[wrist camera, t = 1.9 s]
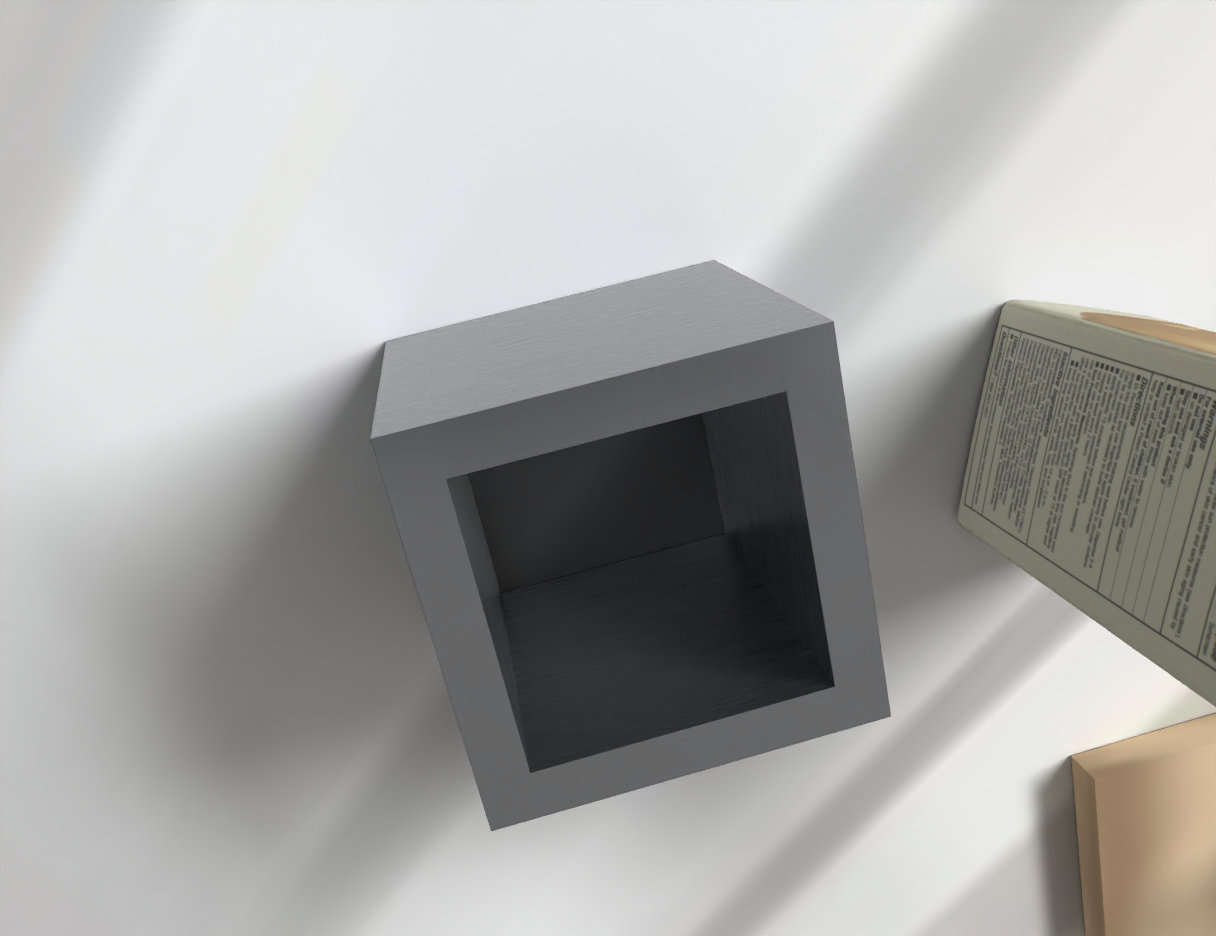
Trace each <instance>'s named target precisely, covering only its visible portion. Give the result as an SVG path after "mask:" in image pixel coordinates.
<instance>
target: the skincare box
mask: <svg viewBox="0 0 1216 936" xmlns="http://www.w3.org/2000/svg"><path fill="white" fill-rule="evenodd" d="M957 521H958V523H959V524H960V525H961V526H962V527H964V528H965V529H966V530H968V531H969V532H971V533H972V534H974V535H975V536H976V537H978V538H979V539H980V540H982V541H983V542H985V543H986V544H988V545H989V546H990V547H992V548H993V549H994V550H996V551H997V552H999V553H1000V554H1002V555H1003V556H1004V557H1006V558H1007V559H1009V560H1010V561H1011V562H1013V563H1014V564H1016V565H1017V566H1019V567H1020V568H1021V569H1023V570H1024V571H1025V572H1027V573H1028V574H1030V575H1031V576H1032V577H1034V578H1035V579H1037V580H1038V581H1040V582H1041V583H1042V584H1044V585H1045V586H1047V587H1048V588H1050V589H1051V590H1052V591H1054V592H1055V593H1056V594H1058V595H1059V596H1060V597H1062V598H1063V599H1065V600H1066V601H1068V602H1069V603H1070V604H1072V605H1073V606H1074V607H1076V608H1077V609H1079V610H1080V611H1082V612H1083V613H1085V614H1086V615H1087V616H1089V617H1090V618H1091V619H1093V620H1094V621H1096V622H1097V623H1099V624H1100V625H1101V626H1103V627H1104V628H1106V629H1107V630H1108V631H1110V632H1111V633H1112V634H1114V635H1115V636H1117V637H1118V638H1120V639H1121V640H1122V641H1124V642H1125V643H1126V644H1128V645H1129V646H1131V647H1132V648H1133V649H1135V650H1136V651H1138V652H1139V653H1141V654H1142V655H1144V656H1145V657H1146V658H1148V659H1149V660H1151V661H1152V662H1153V663H1155V664H1156V665H1158V666H1159V667H1160V668H1162V669H1163V670H1165V671H1166V672H1168V673H1169V674H1170V675H1171V676H1173V677H1174V678H1176V679H1177V680H1179V681H1180V682H1181V683H1183V684H1184V685H1186V686H1187V687H1188V688H1190V689H1191V690H1193V691H1194V692H1195V693H1197V694H1198V695H1200V696H1201V697H1203V698H1204V699H1205V700H1207V701H1208V702H1209V703H1211V704H1212V705H1214V706H1215V707H1216V333H1215V332H1211V331H1206V330H1202V329H1198V328H1194V327H1190V326H1186V325H1182V324H1178V323H1174V322H1170V321H1165V320H1161V319H1157V318H1153V317H1149V316H1144V315H1137V314H1130V313H1124V312H1117V311H1110V310H1102V309H1095V308H1087V307H1080V306H1073V305H1065V304H1055V303H1045V302H1036V301H1027V300H1010V301H1008V302H1007V303H1006V304H1005V305H1004V306H1003V308H1002V311H1001V315H1000V319H999V324H998V327H997V331H996V335H995V339H994V343H993V348H992V352H991V356H990V360H989V364H988V368H987V373H986V377H985V382H984V387H983V391H982V396H981V400H980V405H979V409H978V414H977V419H976V423H975V428H974V433H973V437H972V443H971V448H970V453H969V458H968V463H967V468H966V473H965V478H964V484H963V490H962V494H961V500H960V505H959V510H958V516H957Z"/></svg>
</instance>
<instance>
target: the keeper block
mask: <svg viewBox="0 0 1216 936" xmlns="http://www.w3.org/2000/svg"><path fill="white" fill-rule="evenodd" d="M1071 760H1072V773H1073V786H1074V799H1075V811H1076V824H1077V837H1078V850H1079V862H1080V875H1081V888H1082V900H1083V913H1084V926H1085V936H1216V713H1215V714H1211V715H1208V716H1204V717H1201V718H1198V719H1194V720H1191V721H1187V722H1184V723H1181V724H1177V725H1174V726H1171V727H1167V728H1164V729H1160V730H1157V731H1154V732H1150V733H1147V734H1143V735H1140V736H1137V737H1133V738H1130V739H1126V740H1123V741H1120V742H1116V743H1113V744H1109V745H1106V746H1103V747H1099V748H1096V749H1092V750H1089V751H1086V752H1082V753H1079V754H1075V755H1072V756H1071Z"/></svg>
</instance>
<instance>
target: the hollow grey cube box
mask: <svg viewBox="0 0 1216 936" xmlns="http://www.w3.org/2000/svg"><path fill="white" fill-rule="evenodd" d="M700 413H702V416H703V421H704V427H705V432H706V437H707V442H708V447H709V452H710V458H711V463H712V468H713V473H714V478H715V483H716V489H717V494H718V499H719V504H720V509H721V514H722V519H723V525H724V530H725V533H724V534H720V535H716V536H713V537H709V538H705V539H701V540H698V541H694V542H690V543H687V544H683V545H679V546H675V547H672V548H668V549H664V550H660V551H657V552H653V553H649V554H646V555H642V556H638V557H634V558H631V559H627V560H623V561H620V562H616V563H612V564H608V565H605V566H601V567H597V568H594V569H590V570H586V571H582V572H579V573H575V574H571V575H567V576H564V577H560V578H556V579H553V580H549V581H545V582H541V583H538V584H534V585H530V586H527V587H523V588H519V589H515V590H512V591H508V592H504V593H501V591H500V587H499V584H498V580H497V576H496V573H495V569H494V566H493V562H492V559H491V555H490V551H489V548H488V544H487V541H486V537H485V533H484V530H483V526H482V523H481V519H480V515H479V512H478V508H477V505H476V501H475V497H474V494H473V490H472V487H471V483H470V480H469V476H468V473H472V472H476V471H480V470H483V469H487V468H491V467H495V466H499V465H503V464H507V463H510V462H514V461H518V460H522V459H526V458H530V457H534V456H537V455H541V454H545V453H549V452H553V451H557V450H561V449H565V448H568V447H572V446H576V445H580V444H584V443H588V442H592V441H595V440H599V439H603V438H607V437H611V436H615V435H619V434H622V433H626V432H630V431H634V430H638V429H642V428H646V427H650V426H653V425H657V424H661V423H665V422H669V421H673V420H677V419H680V418H684V417H688V416H692V415H696V414H700ZM370 439H371V443H372V446H373V449H374V452H375V456H376V459H377V462H378V465H379V469H380V472H381V475H382V478H383V482H384V485H385V488H386V491H387V495H388V498H389V501H390V504H391V507H392V511H393V514H394V517H395V520H396V524H397V527H398V530H399V533H400V537H401V540H402V543H403V546H404V550H405V553H406V556H407V559H408V563H409V566H410V569H411V572H412V576H413V579H414V582H415V585H416V589H417V592H418V595H419V598H420V602H421V605H422V608H423V611H424V614H425V618H426V621H427V624H428V627H429V631H430V634H431V637H432V640H433V644H434V647H435V650H436V653H437V657H438V660H439V663H440V666H441V670H442V673H443V676H444V679H445V683H446V686H447V689H448V692H449V696H450V699H451V702H452V705H453V709H454V712H455V715H456V718H457V722H458V725H459V728H460V731H461V734H462V738H463V741H464V744H465V747H466V751H467V754H468V757H469V760H470V764H471V767H472V770H473V773H474V777H475V780H476V783H477V786H478V790H479V793H480V796H481V799H482V803H483V806H484V809H485V812H486V816H487V819H488V822H489V825H490V829H491V831H494V830H497V829H501V828H504V827H508V826H511V825H515V824H518V823H522V822H525V821H529V820H532V819H535V818H539V817H542V816H546V815H549V814H553V813H556V812H560V811H563V810H567V809H570V808H574V807H577V806H581V805H584V804H588V803H591V802H595V801H598V800H602V799H605V798H609V797H612V796H616V795H619V794H623V793H626V792H629V791H633V790H636V789H640V788H643V787H647V786H650V785H654V784H657V783H661V782H664V781H668V780H671V779H675V778H678V777H682V776H685V775H689V774H692V773H696V772H699V771H703V770H706V769H710V768H713V767H717V766H720V765H723V764H727V763H730V762H734V761H737V760H741V759H744V758H748V757H751V756H755V755H758V754H762V753H765V752H769V751H772V750H776V749H779V748H783V747H786V746H790V745H793V744H797V743H800V742H804V741H807V740H811V739H814V738H817V737H821V736H824V735H828V734H831V733H835V732H838V731H842V730H845V729H849V728H852V727H856V726H859V725H863V724H866V723H870V722H873V721H877V720H880V719H884V718H887V717H891V714H890V707H889V700H888V693H887V687H886V680H885V673H884V666H883V659H882V652H881V645H880V638H879V631H878V624H877V618H876V611H875V604H874V597H873V590H872V583H871V576H870V569H869V562H868V556H867V549H866V542H865V535H864V528H863V521H862V514H861V507H860V500H859V493H858V487H857V480H856V473H855V466H854V459H853V452H852V445H851V438H850V431H849V425H848V418H847V411H846V404H845V397H844V390H843V383H842V376H841V369H840V362H839V356H838V349H837V342H836V335H835V328H834V321H832V320H830V319H828V318H827V317H825V316H823V315H821V314H819V313H817V312H815V311H813V310H811V309H809V308H807V307H805V306H803V305H801V304H799V303H797V302H795V301H793V300H791V299H789V298H787V297H785V296H783V295H781V294H780V293H778V292H776V291H774V290H772V289H770V288H768V287H766V286H764V285H762V284H760V283H758V282H756V281H754V280H752V279H750V278H748V277H746V276H744V275H742V274H740V273H738V272H736V271H735V270H733V269H731V268H729V267H727V266H725V265H723V264H721V263H719V262H717V261H715V260H713V261H709V262H705V263H701V264H697V265H692V266H688V267H684V268H680V269H676V270H672V271H668V272H664V273H660V274H656V275H652V276H648V277H644V278H640V279H636V280H632V281H628V282H624V283H620V284H616V285H611V286H607V287H603V288H599V289H595V290H591V291H587V292H583V293H579V294H575V295H571V296H567V297H563V298H559V299H555V300H551V301H547V302H543V303H539V304H535V305H531V306H526V307H522V308H518V309H514V310H510V311H506V312H502V313H498V314H494V315H490V316H486V317H482V318H478V319H474V320H470V321H466V322H462V323H458V324H454V325H450V326H445V327H441V328H437V329H433V330H429V331H425V332H421V333H417V334H413V335H409V336H405V337H401V338H397V339H393V340H389V341H386V345H385V351H384V357H383V364H382V370H381V376H380V382H379V388H378V394H377V401H376V407H375V413H374V419H373V425H372V432H371V438H370Z"/></svg>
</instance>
